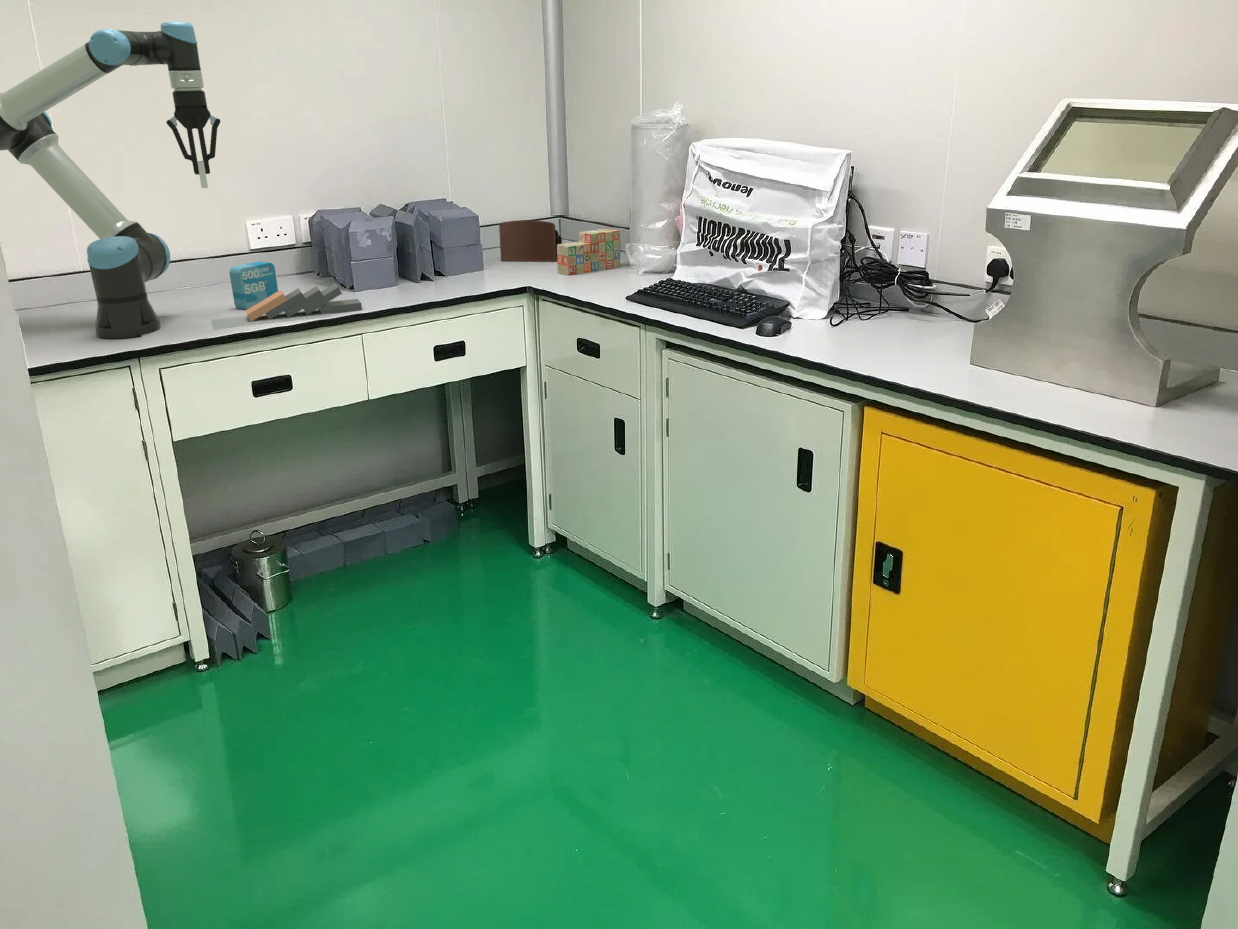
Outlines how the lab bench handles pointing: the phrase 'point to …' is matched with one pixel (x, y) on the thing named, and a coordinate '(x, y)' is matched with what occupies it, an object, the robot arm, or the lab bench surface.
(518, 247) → the letter holder
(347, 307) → the domino
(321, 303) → the domino
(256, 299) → the data package
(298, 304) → the domino
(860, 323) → the lab bench surface
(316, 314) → the mat
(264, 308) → the domino
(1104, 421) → the lab bench surface
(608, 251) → the stack of blocks
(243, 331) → the lab bench surface
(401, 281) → the lab bench surface
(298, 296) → the domino
